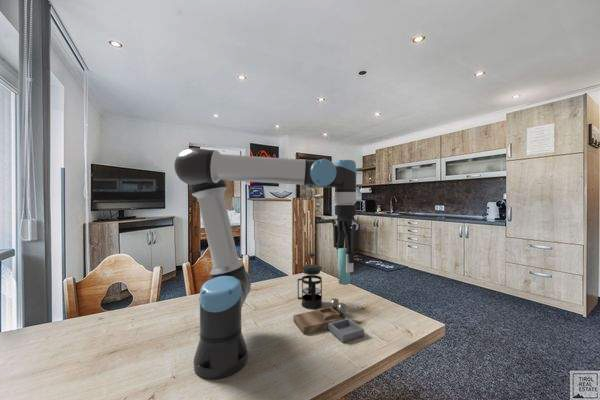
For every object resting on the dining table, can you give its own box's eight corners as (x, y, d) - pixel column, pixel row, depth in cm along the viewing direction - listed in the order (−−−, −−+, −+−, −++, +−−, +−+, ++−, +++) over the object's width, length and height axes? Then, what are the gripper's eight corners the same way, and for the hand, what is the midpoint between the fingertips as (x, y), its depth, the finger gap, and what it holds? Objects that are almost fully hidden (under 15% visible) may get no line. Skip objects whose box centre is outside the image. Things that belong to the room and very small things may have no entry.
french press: (321, 299, 117) (321, 251, 117) (325, 308, 108) (325, 255, 108) (296, 301, 116) (296, 251, 115) (298, 310, 106) (298, 256, 106)
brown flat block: (303, 336, 88) (303, 324, 88) (293, 322, 97) (293, 312, 97) (342, 326, 94) (342, 315, 94) (329, 314, 103) (329, 304, 103)
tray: (342, 343, 82) (342, 335, 82) (328, 330, 91) (328, 323, 90) (364, 336, 86) (364, 329, 86) (348, 324, 94) (348, 317, 94)
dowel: (342, 285, 86) (341, 250, 85) (336, 281, 89) (335, 248, 89) (352, 283, 87) (351, 249, 87) (346, 280, 91) (345, 247, 90)
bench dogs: (341, 322, 96) (341, 306, 96) (329, 313, 103) (329, 299, 103) (347, 320, 97) (347, 305, 97) (335, 312, 105) (335, 297, 104)
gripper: (370, 204, 82) (370, 275, 82) (340, 203, 97) (340, 263, 98) (352, 205, 79) (352, 278, 79) (323, 203, 94) (323, 265, 94)
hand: (345, 270), depth 88 cm, fingers closed on dowel, 4 cm apart
